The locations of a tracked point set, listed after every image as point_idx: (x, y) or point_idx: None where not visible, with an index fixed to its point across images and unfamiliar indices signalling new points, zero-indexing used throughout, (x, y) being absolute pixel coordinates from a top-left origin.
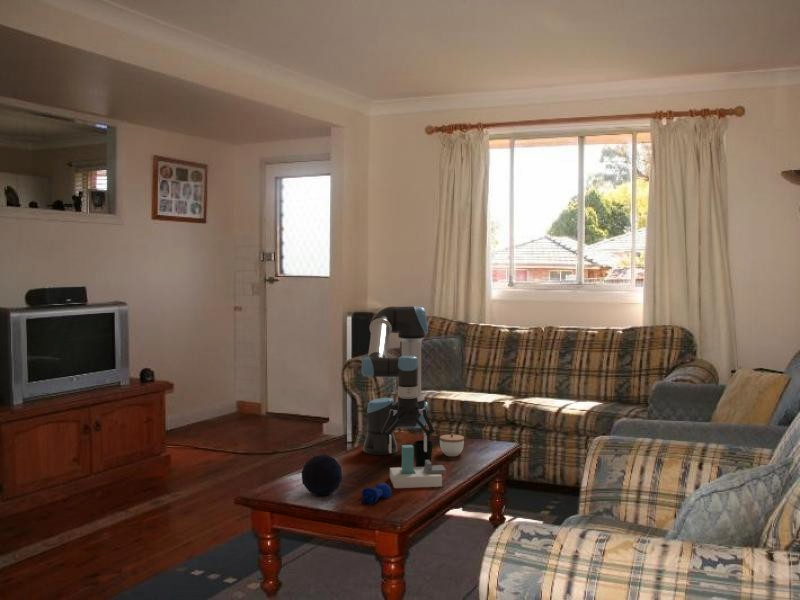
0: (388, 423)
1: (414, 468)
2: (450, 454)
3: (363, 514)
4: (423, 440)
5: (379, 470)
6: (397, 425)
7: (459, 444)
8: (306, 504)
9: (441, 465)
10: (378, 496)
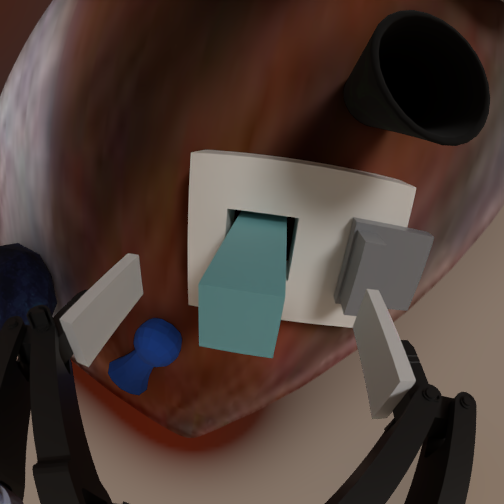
0: (19, 429)
1: (310, 194)
2: None
3: (132, 398)
4: (446, 26)
5: (189, 36)
6: (90, 454)
7: None
8: None
9: (427, 242)
10: (146, 389)
